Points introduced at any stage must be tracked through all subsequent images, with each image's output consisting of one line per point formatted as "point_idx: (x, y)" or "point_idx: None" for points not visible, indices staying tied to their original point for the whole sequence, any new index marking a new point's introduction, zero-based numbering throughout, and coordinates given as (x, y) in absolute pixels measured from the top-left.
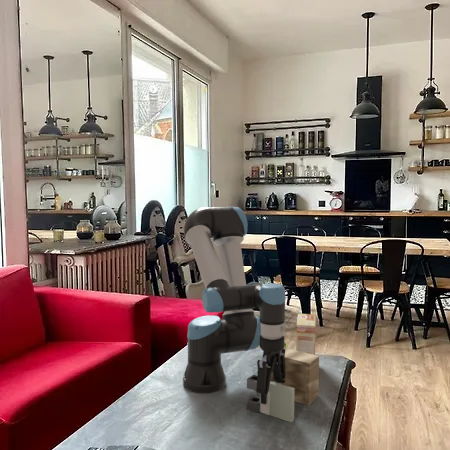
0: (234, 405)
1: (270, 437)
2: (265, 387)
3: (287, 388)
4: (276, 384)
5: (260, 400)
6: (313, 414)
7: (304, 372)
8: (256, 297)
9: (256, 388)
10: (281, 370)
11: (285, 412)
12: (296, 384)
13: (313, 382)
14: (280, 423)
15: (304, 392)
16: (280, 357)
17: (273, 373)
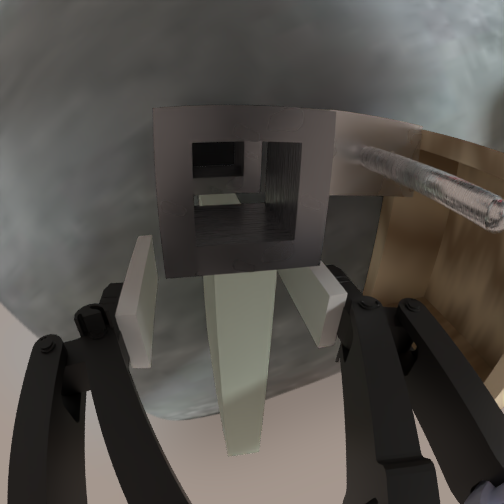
0: (177, 30)
1: (69, 324)
2: (82, 419)
3: (231, 443)
4: (240, 398)
5: (201, 205)
6: (305, 349)
7: (484, 306)
8: None
9: (28, 363)
10: (412, 382)
11: (208, 334)
12: (455, 240)
13: None
14: (170, 307)
15: (424, 271)
16: (465, 477)
17: (362, 362)
